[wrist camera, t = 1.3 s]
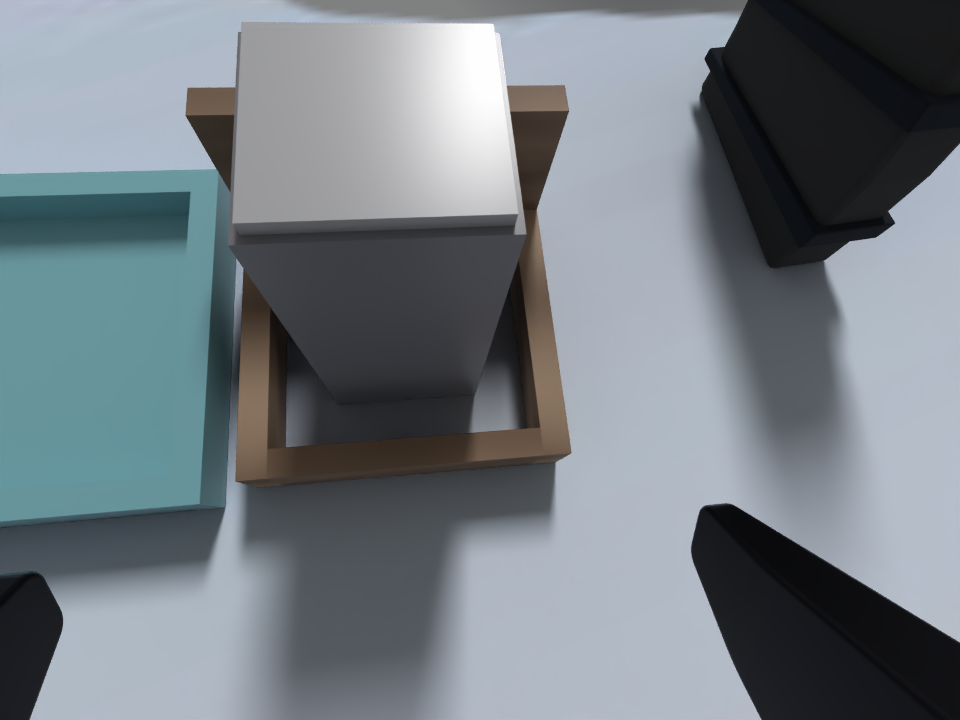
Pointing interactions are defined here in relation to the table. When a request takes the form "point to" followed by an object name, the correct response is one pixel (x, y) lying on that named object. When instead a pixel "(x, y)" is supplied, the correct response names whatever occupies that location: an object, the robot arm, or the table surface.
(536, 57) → the table surface
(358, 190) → the grey lidded box
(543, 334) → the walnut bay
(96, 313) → the teal tray
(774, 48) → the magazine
